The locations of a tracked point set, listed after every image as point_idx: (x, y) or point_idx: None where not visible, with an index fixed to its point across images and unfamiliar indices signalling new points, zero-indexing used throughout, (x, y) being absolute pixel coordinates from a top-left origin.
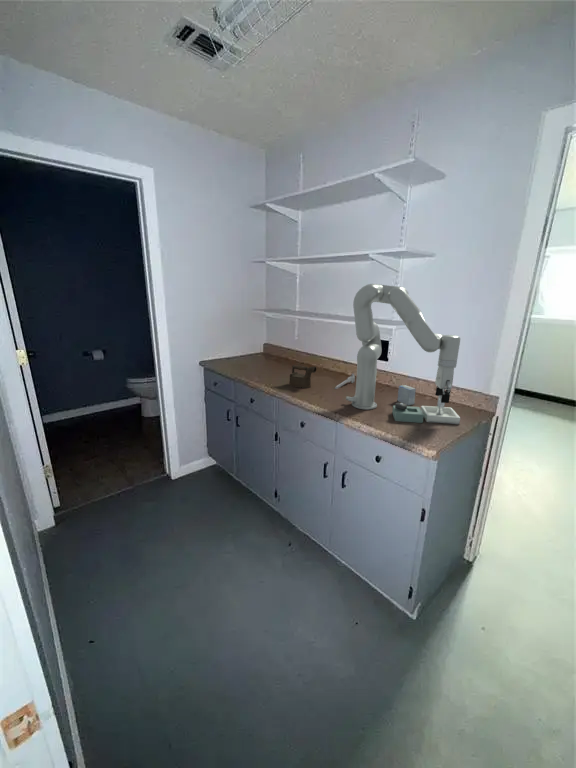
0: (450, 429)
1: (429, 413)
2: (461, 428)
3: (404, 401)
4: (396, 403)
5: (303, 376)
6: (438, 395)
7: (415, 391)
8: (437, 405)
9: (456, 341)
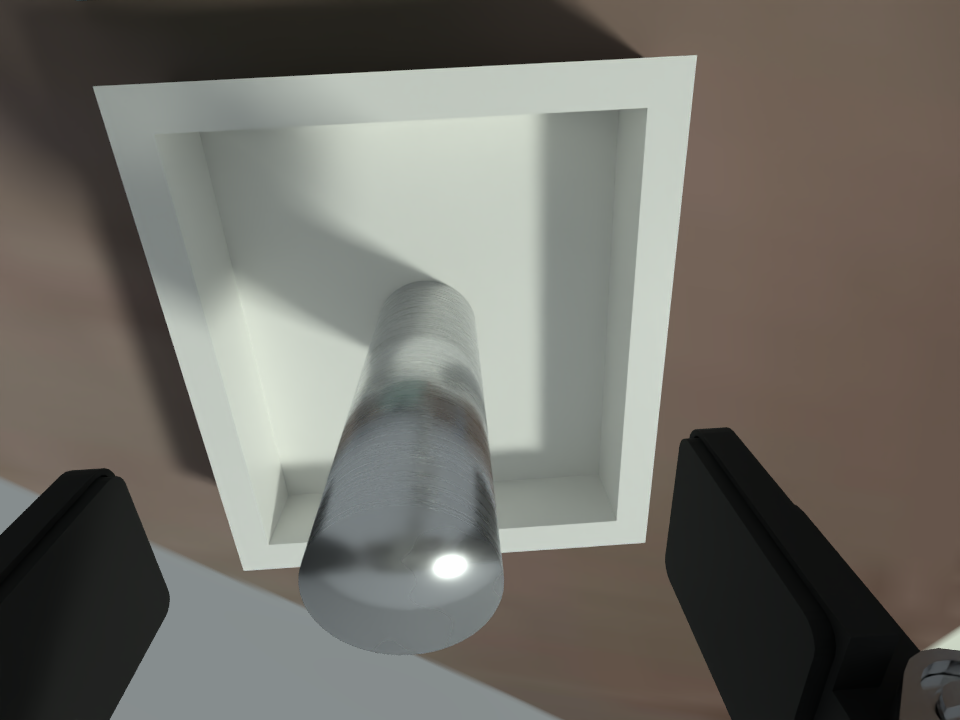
0: (36, 384)
1: (515, 200)
2: (146, 502)
3: None
4: None
5: None
6: (678, 492)
7: None
8: (402, 359)
9: None
